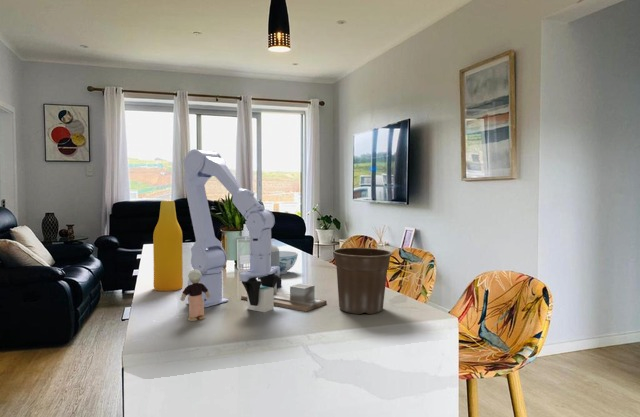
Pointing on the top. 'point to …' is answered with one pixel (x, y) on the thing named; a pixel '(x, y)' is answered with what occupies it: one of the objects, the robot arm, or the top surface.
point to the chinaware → (286, 260)
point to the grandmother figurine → (195, 296)
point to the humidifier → (275, 261)
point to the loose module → (263, 300)
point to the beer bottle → (168, 250)
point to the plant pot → (361, 279)
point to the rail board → (293, 305)
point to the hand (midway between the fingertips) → (260, 303)
